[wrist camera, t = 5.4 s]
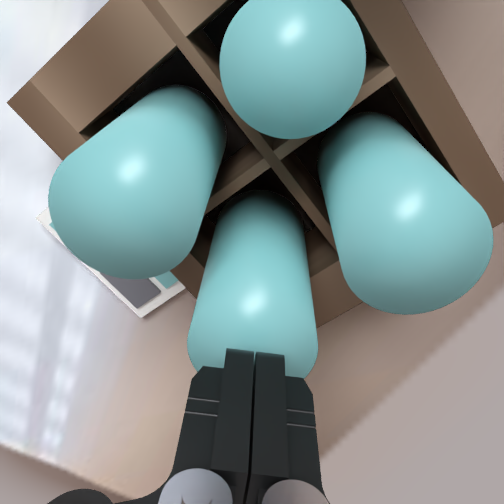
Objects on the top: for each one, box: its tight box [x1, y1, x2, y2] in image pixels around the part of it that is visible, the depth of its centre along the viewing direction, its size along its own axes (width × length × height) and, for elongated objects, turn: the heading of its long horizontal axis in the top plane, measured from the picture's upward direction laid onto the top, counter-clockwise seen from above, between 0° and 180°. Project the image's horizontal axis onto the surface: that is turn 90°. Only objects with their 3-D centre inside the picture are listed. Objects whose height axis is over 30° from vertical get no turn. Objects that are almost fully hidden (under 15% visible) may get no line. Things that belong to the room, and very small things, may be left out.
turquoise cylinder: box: [317, 112, 493, 315], centre depth 15 cm, size 4×4×8 cm
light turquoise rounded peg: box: [187, 190, 318, 379], centre depth 16 cm, size 4×4×8 cm
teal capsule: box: [220, 0, 366, 139], centre depth 15 cm, size 4×4×8 cm
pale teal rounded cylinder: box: [48, 85, 227, 279], centre depth 15 cm, size 4×4×8 cm
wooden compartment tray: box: [7, 0, 504, 328], centre depth 19 cm, size 12×14×4 cm
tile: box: [36, 206, 186, 318], centre depth 23 cm, size 4×7×1 cm, turn 38°
